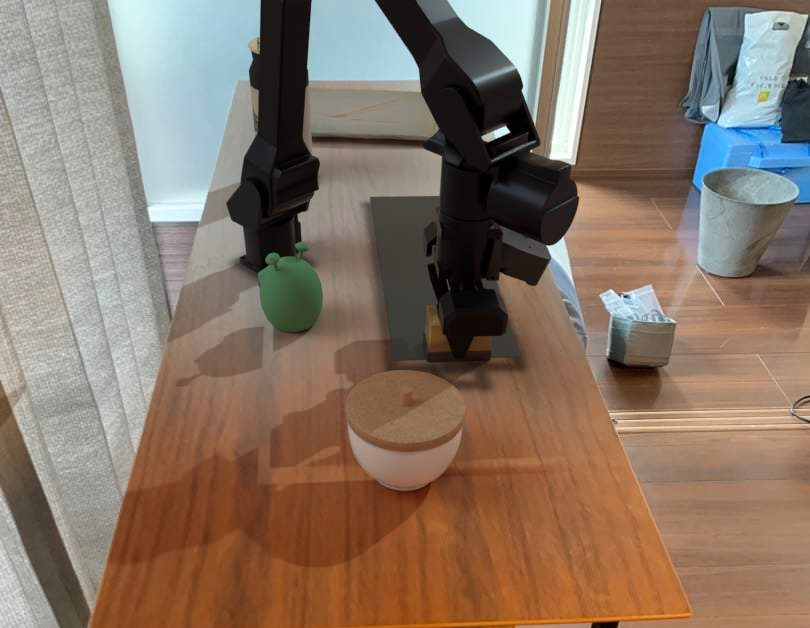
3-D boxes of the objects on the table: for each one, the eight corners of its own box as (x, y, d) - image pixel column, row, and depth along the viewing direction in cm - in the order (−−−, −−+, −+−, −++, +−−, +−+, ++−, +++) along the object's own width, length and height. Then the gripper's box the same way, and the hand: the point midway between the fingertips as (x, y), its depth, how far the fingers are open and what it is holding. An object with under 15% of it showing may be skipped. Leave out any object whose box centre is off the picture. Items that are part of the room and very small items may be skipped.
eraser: (490, 360, 90) (495, 323, 86) (426, 361, 89) (428, 325, 86) (484, 339, 92) (488, 303, 89) (422, 341, 92) (424, 305, 89)
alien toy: (292, 304, 99) (286, 223, 91) (337, 329, 95) (334, 247, 88) (246, 326, 95) (236, 244, 88) (291, 353, 92) (284, 270, 84)
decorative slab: (267, 142, 131) (266, 129, 130) (282, 94, 146) (281, 82, 144) (438, 148, 132) (439, 135, 130) (436, 100, 146) (436, 88, 145)
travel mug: (316, 169, 125) (309, 35, 112) (310, 192, 119) (303, 54, 106) (263, 167, 125) (250, 32, 112) (255, 190, 119) (241, 51, 106)
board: (519, 365, 91) (521, 356, 90) (393, 369, 90) (393, 360, 89) (467, 203, 118) (467, 195, 118) (369, 204, 117) (369, 196, 116)
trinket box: (373, 422, 84) (373, 343, 77) (474, 450, 81) (483, 370, 74) (328, 489, 77) (324, 408, 70) (437, 521, 74) (443, 441, 67)
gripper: (573, 253, 73) (546, 396, 85) (531, 166, 86) (513, 300, 97) (449, 256, 72) (438, 399, 84) (425, 167, 85) (419, 302, 97)
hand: (456, 346), depth 90 cm, fingers closed on eraser, 4 cm apart
